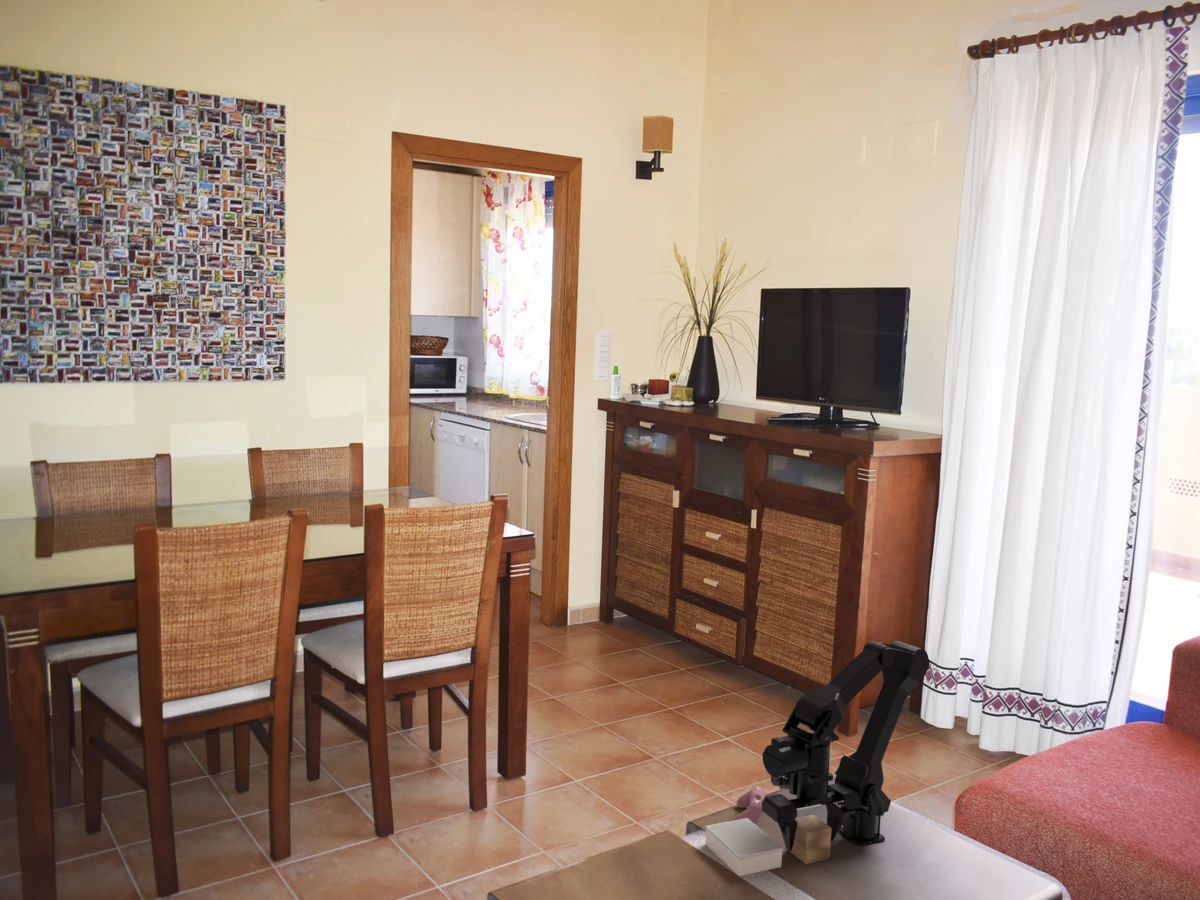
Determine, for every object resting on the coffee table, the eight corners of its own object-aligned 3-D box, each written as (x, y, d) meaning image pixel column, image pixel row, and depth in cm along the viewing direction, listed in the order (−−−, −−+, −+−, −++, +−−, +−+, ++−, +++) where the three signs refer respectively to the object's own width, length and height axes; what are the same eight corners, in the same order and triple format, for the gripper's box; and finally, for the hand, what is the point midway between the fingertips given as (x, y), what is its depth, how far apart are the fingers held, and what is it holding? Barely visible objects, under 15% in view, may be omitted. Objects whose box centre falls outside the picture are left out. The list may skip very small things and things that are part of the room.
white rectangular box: (746, 837, 186) (747, 818, 185) (782, 868, 175) (782, 847, 174) (704, 846, 182) (705, 825, 182) (738, 878, 171) (739, 856, 171)
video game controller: (752, 837, 189) (770, 808, 187) (732, 824, 189) (749, 796, 188) (754, 814, 198) (771, 787, 197) (734, 802, 199) (751, 775, 198)
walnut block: (811, 844, 183) (813, 814, 183) (829, 858, 178) (831, 827, 178) (788, 850, 181) (789, 819, 180) (805, 864, 176) (806, 833, 175)
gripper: (827, 742, 189) (823, 818, 191) (747, 755, 182) (743, 834, 183) (864, 764, 179) (859, 844, 181) (780, 779, 171) (776, 863, 173)
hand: (809, 845), depth 180 cm, fingers open, 9 cm apart
